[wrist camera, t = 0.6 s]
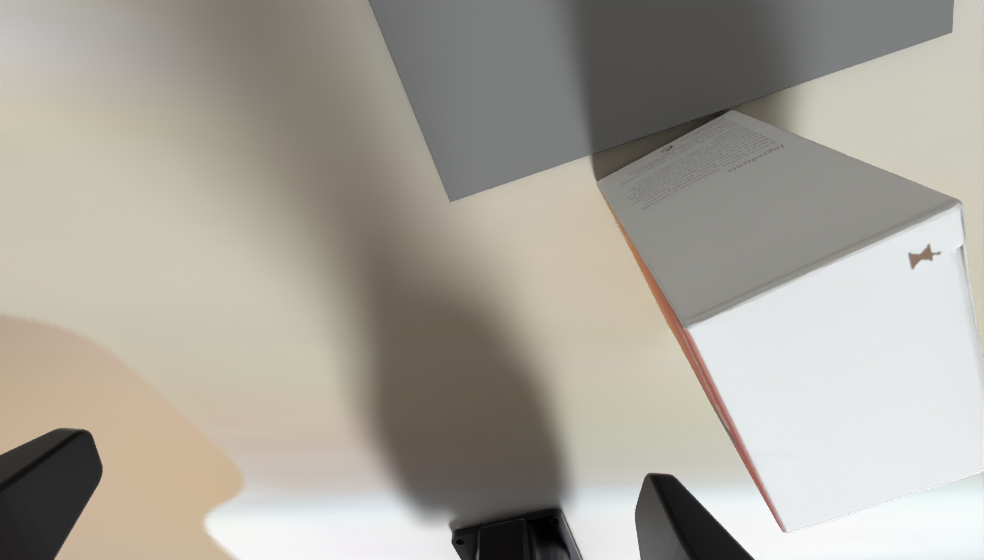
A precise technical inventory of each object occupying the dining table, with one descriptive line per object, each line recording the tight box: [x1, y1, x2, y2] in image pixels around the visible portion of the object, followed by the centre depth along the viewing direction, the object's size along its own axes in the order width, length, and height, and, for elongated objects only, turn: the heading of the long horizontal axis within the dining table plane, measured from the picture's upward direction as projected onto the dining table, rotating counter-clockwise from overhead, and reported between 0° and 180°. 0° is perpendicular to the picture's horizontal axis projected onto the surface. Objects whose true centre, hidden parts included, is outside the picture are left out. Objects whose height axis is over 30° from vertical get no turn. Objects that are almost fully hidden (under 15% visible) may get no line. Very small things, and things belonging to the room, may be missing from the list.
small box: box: [597, 110, 984, 533], centre depth 16 cm, size 8×6×10 cm
